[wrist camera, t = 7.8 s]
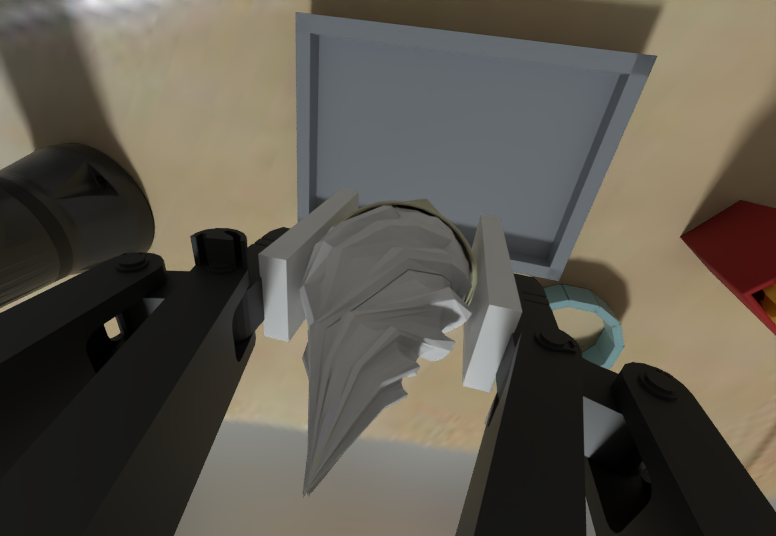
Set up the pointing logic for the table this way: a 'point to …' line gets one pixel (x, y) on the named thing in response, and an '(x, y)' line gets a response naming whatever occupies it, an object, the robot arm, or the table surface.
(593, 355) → the teal ring
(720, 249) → the french fries
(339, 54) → the tray
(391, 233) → the soft serve swirl
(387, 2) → the table surface
